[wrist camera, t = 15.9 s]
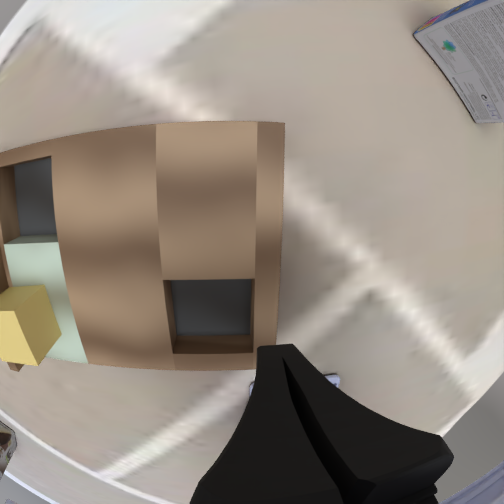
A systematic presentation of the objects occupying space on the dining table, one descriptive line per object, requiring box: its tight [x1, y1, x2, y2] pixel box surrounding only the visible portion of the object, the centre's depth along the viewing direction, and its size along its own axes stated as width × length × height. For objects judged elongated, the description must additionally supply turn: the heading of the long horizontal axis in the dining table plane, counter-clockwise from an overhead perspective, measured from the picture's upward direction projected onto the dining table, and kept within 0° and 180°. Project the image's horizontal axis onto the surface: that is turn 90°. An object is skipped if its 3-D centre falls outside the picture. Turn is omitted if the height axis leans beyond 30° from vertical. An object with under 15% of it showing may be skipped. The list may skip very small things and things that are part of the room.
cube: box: [0, 285, 62, 366], centre depth 15 cm, size 4×4×4 cm
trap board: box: [0, 121, 285, 372], centre depth 16 cm, size 16×21×5 cm
